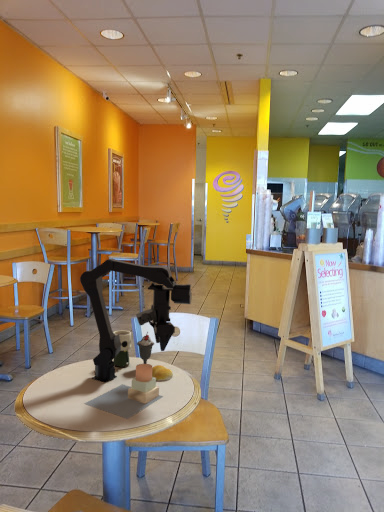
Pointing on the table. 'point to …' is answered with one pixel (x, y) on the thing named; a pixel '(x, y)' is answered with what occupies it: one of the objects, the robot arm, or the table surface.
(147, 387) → the tower top
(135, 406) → the mat
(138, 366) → the peach gumdrop
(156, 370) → the bread roll
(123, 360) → the character mug
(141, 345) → the sundae
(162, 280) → the robot arm
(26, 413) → the table surface
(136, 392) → the tower base
